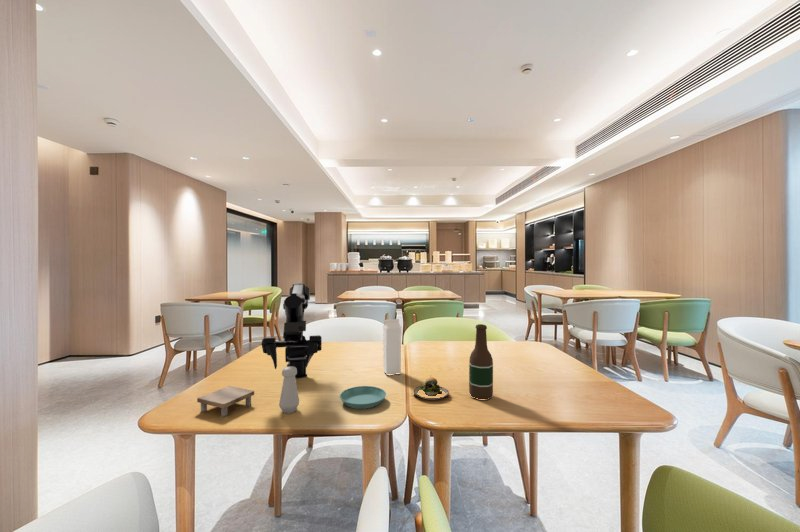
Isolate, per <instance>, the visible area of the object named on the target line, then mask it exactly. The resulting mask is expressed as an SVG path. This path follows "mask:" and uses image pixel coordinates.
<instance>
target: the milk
mask: <svg viewBox="0 0 800 532" xmlns="http://www.w3.org/2000/svg"><path fill="white" fill-rule="evenodd" d="M382 329H383V330H382V331H383V332H382V333H383V334H382V338H383V339H382V345H383V347H382V353H383V354H382V368H383V369H382V371H383V370H384V372H385V373H386V374H396V373H402V372H401V371H402V369H401V368H402V367H401V366H402V365H401V364H402V359H401V358H402V353H401V352H402V327H401V324H400V319H399V318H391V319H385V320H384V324H383V327H382ZM384 372H383V373H384ZM385 373H384V374H385Z"/></svg>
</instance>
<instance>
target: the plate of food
mask: <svg viewBox="0 0 800 532" xmlns="http://www.w3.org/2000/svg"><path fill="white" fill-rule="evenodd" d="M419 390H423V391H424V392H425V394H426V395H428V396H436V395H437V394H442V391H444V392H445V393H446V395H445V396H444V397H440V398H425V397H421V396H418V394H417V393H418V391H419ZM440 390H442V391H440ZM414 395H415V396H417V397H418V398H421V399H425V400H441V399H443V398H446V397H448V396H449V397H450V393H449V390H448V389H447V388H445V387H442V386H441V385H439V383H438V380H437V378H435V377H432V376H430V377H428V378H426V379H425V381H424V385H422V384H421V385H420V386H417V387H416V388H414V390H413V396H414Z"/></svg>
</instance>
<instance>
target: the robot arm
mask: <svg viewBox="0 0 800 532" xmlns="http://www.w3.org/2000/svg"><path fill="white" fill-rule="evenodd" d="M310 291H311V289H310V287H308V286H306V283H304V282H294V283H292V286H291V287H290V288H289V293H288V294H289V295H287V297H286V298H285V299H284V300H283V303H282V308H283V310H284V314H285V316H286V318H285V322H284V323H283V336H282V338H283V340H277V339H276V337H275V336H271V337H270V336H269V337H263V338H262V339H261V344H260V345H261V349H262V353H263V354H266V355H267V356H270V358H271V360H272V363H273V366H274V367H273V368H274V369H275V370H277V367H278V359H277V358H278V354H277V349H278V348H285V350H284V357H285V358H284V360H285V363H287V364H286V367H289V366H293V367H296V368H297V374H296V375H295V379H299V378H305V377H308V374H307V368H308V367H309V366H308V365H309V363H310V362H311V359H312V357H313V356H314V354H317V353H318V352H320V351H322V344H323V343H322V336H321V335H319V334H317V335H309V339H306V336H305V335H304V332H306V330H307V320H305V319H304V317H305V310H307V309H308V307H309V301H310V300H311V299H310V298H311V297H310V296H311V293H310Z"/></svg>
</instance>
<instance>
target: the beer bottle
mask: <svg viewBox="0 0 800 532" xmlns="http://www.w3.org/2000/svg"><path fill="white" fill-rule="evenodd" d="M475 329H476V330H475V345H474V349H472V351H471V353H470V354H469V355H470V356H469V362H468V368H469V369H468V370H469V371H468V372H469V373H468V381H469V382H468V387H469V388H468V390H469V393H470V394H471V396H472V397H475V398H478V399H488V398H490V397H492V396H493V395H494V360H493V357H492V354H491V353H490V351H489V348H488V341H487V340H488V339H487V329H488V327H487V325H485V324H480V323H479V324H476V325H475ZM470 394H469V395H470ZM471 396H470V397H471ZM472 397H471V398H472ZM492 398H493V397H492Z"/></svg>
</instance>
